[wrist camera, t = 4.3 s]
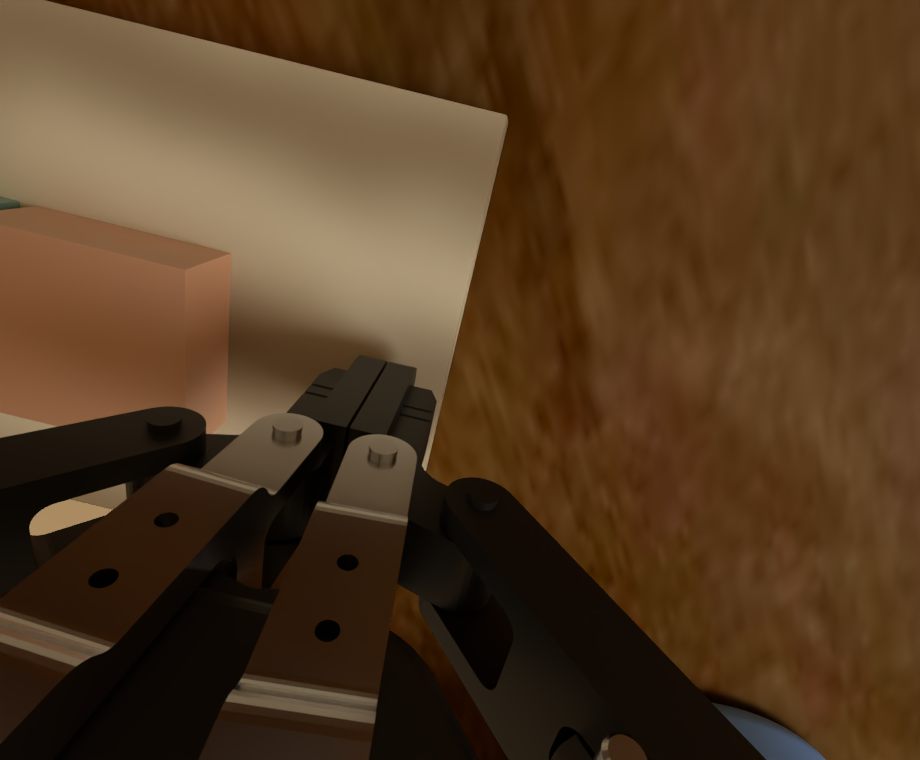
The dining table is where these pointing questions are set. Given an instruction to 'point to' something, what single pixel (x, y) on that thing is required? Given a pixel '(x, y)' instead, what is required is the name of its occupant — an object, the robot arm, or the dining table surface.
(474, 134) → the birch board
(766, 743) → the water jug
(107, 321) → the terracotta tile
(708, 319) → the dining table surface
